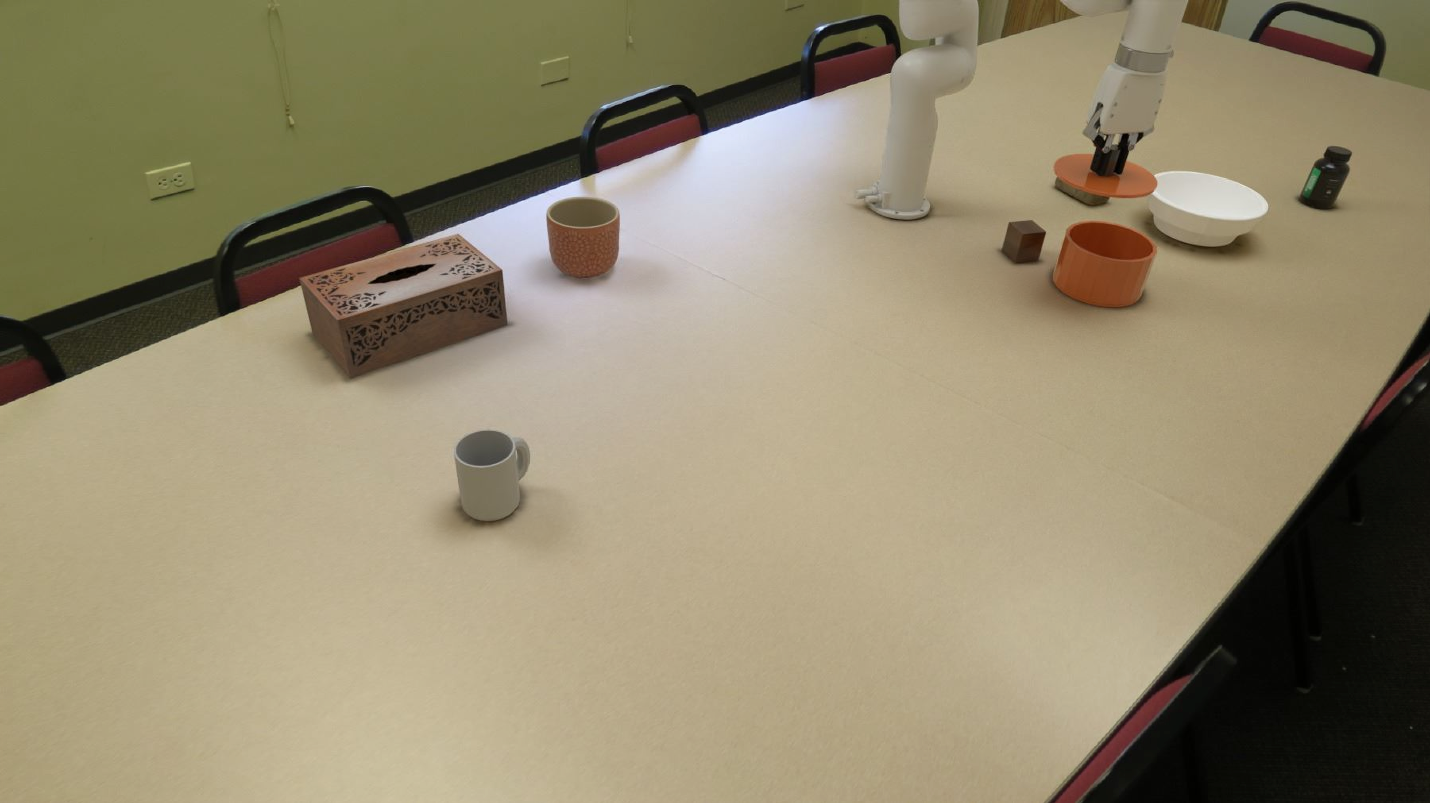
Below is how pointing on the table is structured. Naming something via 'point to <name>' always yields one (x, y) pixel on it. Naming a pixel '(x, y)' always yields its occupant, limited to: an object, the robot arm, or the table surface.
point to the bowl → (1204, 207)
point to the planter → (583, 235)
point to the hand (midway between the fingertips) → (1105, 171)
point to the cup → (490, 472)
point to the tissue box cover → (404, 303)
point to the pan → (1104, 263)
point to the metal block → (1023, 241)
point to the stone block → (1081, 193)
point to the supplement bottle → (1326, 178)
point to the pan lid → (1105, 176)
